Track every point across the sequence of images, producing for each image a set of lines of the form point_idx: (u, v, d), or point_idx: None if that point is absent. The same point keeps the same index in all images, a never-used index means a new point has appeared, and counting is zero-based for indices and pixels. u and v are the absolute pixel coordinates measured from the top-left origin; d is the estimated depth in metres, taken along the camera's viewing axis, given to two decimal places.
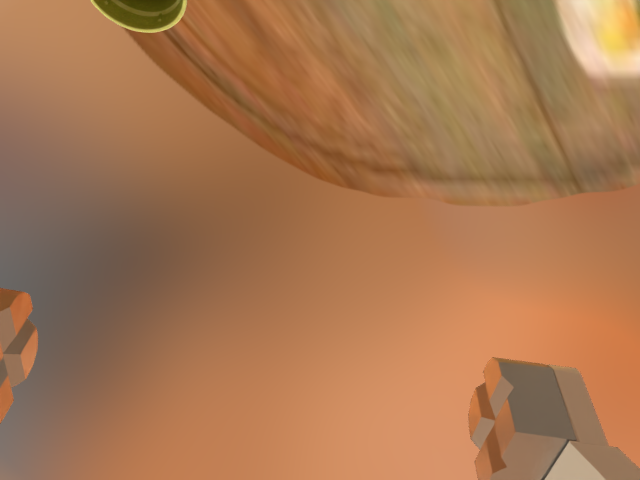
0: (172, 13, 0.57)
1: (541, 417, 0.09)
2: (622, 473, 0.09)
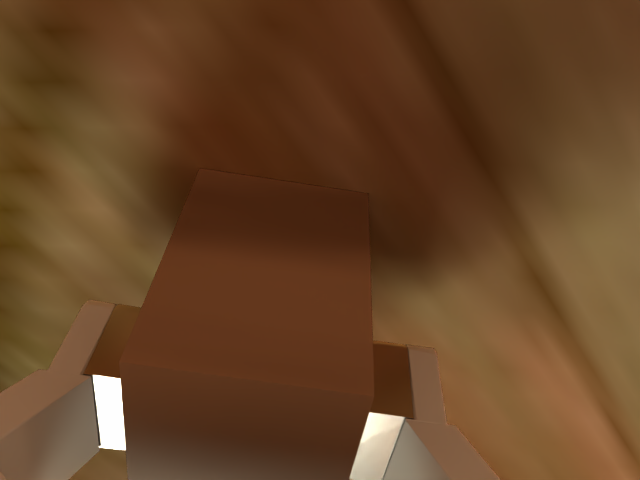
0: None
1: (382, 395, 0.09)
2: (452, 450, 0.09)
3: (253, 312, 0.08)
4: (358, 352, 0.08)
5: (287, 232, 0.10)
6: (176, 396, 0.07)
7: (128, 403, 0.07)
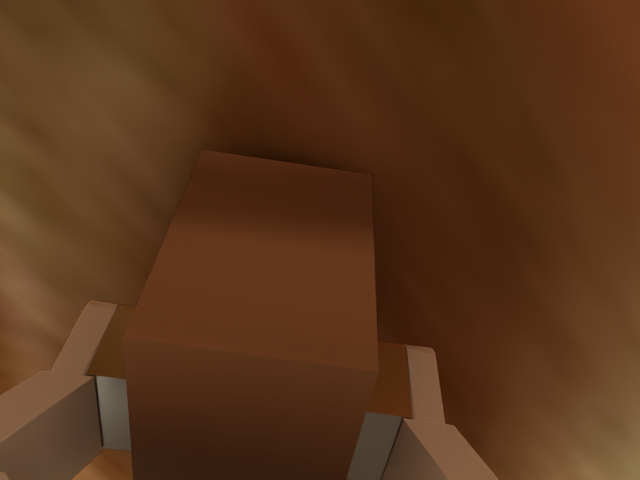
0: None
1: (381, 395, 0.09)
2: (450, 450, 0.09)
3: (256, 290, 0.08)
4: (362, 329, 0.08)
5: (290, 212, 0.10)
6: (180, 371, 0.07)
7: (132, 379, 0.07)
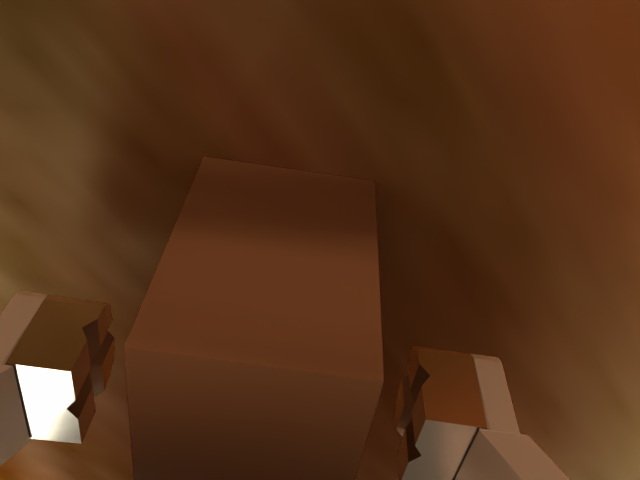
0: None
1: (454, 405, 0.09)
2: (529, 461, 0.09)
3: (260, 298, 0.08)
4: (367, 337, 0.08)
5: (293, 219, 0.09)
6: (183, 382, 0.07)
7: (133, 390, 0.07)
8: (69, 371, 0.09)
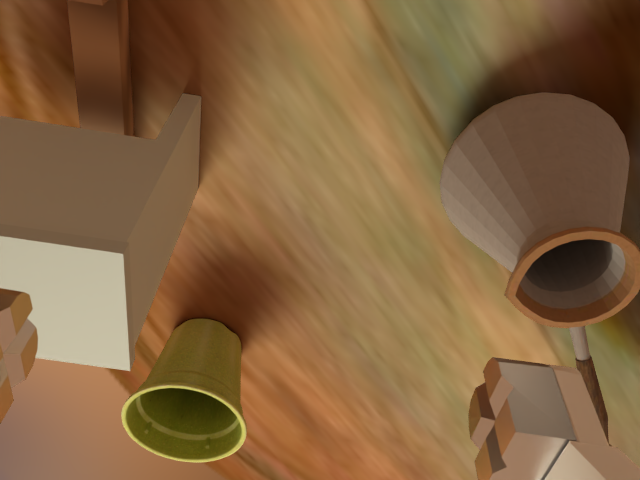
0: (223, 440, 0.49)
1: (541, 417, 0.09)
2: (622, 473, 0.09)
3: None
4: None
5: None
6: None
7: None
8: None
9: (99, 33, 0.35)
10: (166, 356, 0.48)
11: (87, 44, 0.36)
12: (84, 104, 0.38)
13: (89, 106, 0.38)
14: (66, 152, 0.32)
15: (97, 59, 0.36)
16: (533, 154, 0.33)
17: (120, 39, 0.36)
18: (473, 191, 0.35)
